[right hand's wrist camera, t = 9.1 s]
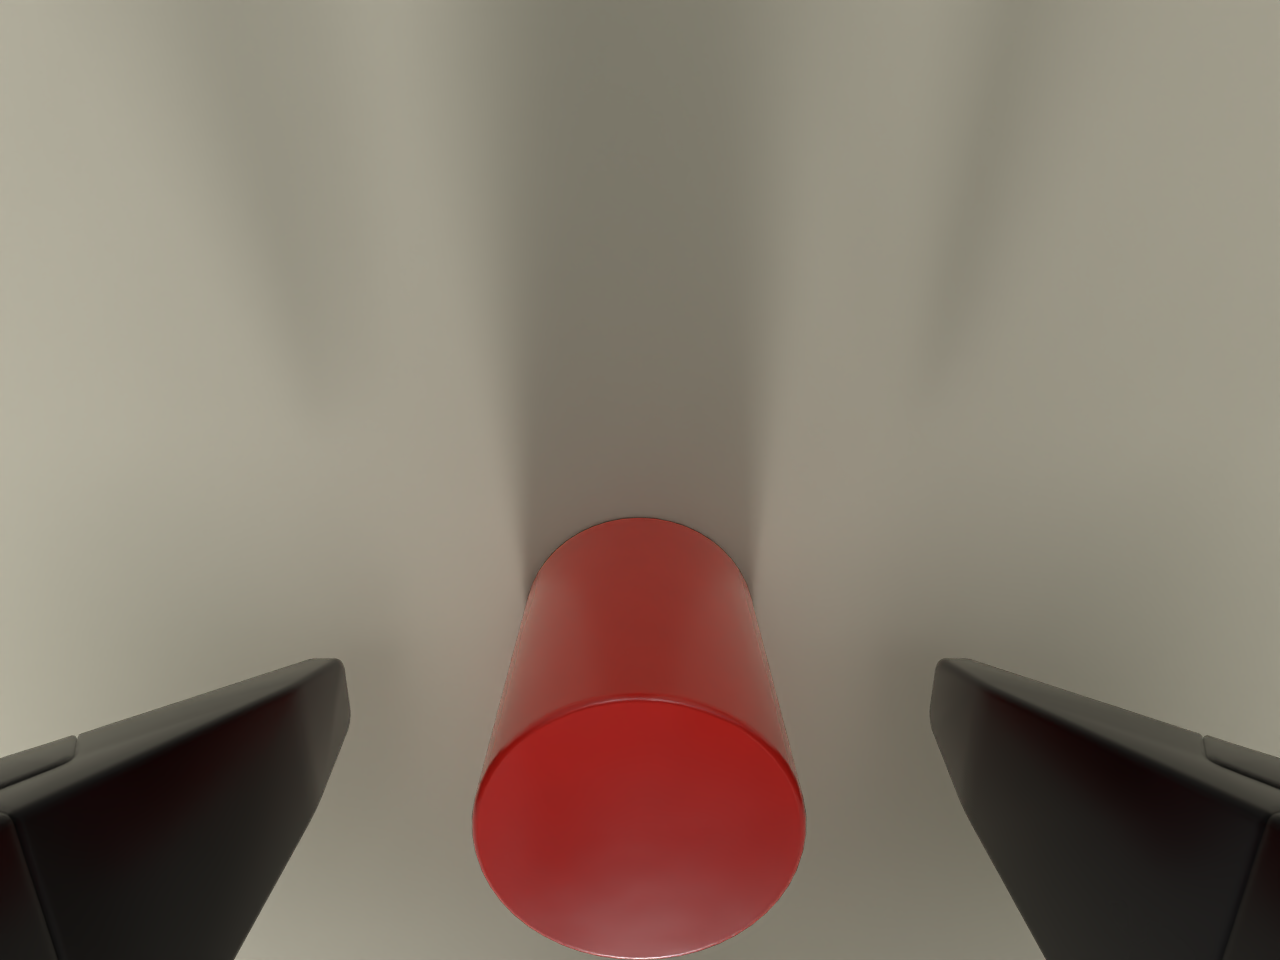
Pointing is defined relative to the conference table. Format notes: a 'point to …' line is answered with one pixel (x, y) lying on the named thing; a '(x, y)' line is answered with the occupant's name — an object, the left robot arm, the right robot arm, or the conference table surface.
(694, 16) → the conference table surface
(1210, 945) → the right robot arm
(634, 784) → the red cylinder
